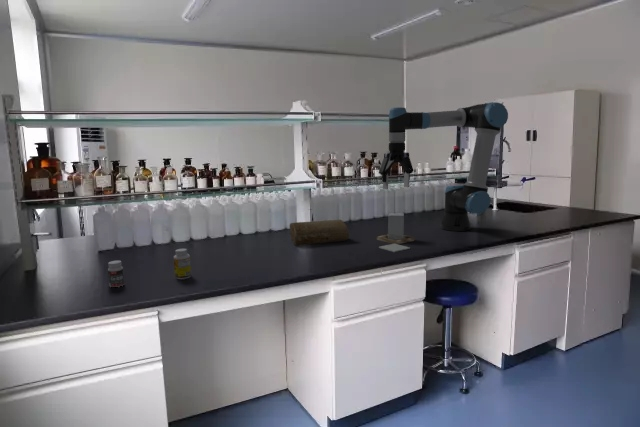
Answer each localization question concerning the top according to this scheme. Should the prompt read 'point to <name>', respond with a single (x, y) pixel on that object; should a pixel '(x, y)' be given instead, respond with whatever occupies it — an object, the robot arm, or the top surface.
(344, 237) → the core sample
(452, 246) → the top surface
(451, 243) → the top surface
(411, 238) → the wooden collar
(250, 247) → the top surface
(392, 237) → the supplement box
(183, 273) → the supplement bottle
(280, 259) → the top surface
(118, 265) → the pill bottle
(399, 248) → the sage pad
